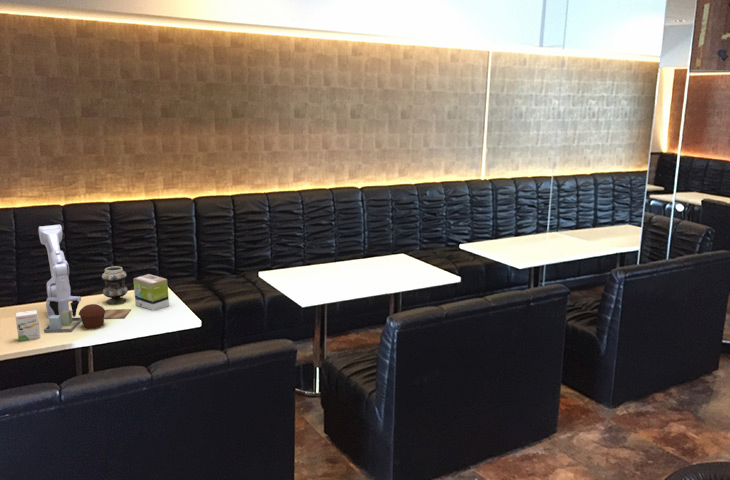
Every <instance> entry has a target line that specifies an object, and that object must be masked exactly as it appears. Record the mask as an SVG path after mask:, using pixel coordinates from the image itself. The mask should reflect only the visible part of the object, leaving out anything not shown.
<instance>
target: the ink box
mask: <svg viewBox="0 0 730 480" xmlns="http://www.w3.org/2000/svg"><path fill="white" fill-rule="evenodd" d="M38 316H39V315H38V310H36V309H34V310H28V311H19V312H16V313H15V322H16V330H17V337H18V342H25V341H30V340H36V339H37V340H38V339H41V333H40V324H39V317H38Z"/></svg>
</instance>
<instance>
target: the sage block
mask: <svg viewBox="0 0 730 480" xmlns="http://www.w3.org/2000/svg"><path fill="white" fill-rule="evenodd" d="M59 314H60V315H61V322H62V326H71V324H72V323H73V322H74V321H72V318H73V315H72V309H69V310H62V311H61V312H60V313H59Z"/></svg>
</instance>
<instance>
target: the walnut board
mask: <svg viewBox="0 0 730 480" xmlns="http://www.w3.org/2000/svg"><path fill="white" fill-rule="evenodd" d="M131 310H132V309H131V308H121V309H120V308H119V309H118V308H117V309H115V308H114V309H111V308H110V309H105V311H106V312H105V313H104V320H112V319H113V320H117V319H123V320H124V319H125V318H126V317H127V316H128V315H129V313H130V312H131Z"/></svg>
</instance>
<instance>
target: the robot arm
mask: <svg viewBox="0 0 730 480" xmlns="http://www.w3.org/2000/svg"><path fill="white" fill-rule="evenodd" d="M63 235H64V234H63V227H62V225H61V224H53V225H44V226H40V225H39V226H38V236H39V240H40V242H39V243H40V244H41V245H42V246H43V245H44V246H45V248H46V251H47V256H48V262H49V263H48V264H49V269H50V275H51V278H50V279H49V280H48V281H47V282H46V293H47V298H46V300H45V307H46V314H47V316H46V318H49V317H50V316H52V315H60V314H59V313H60V312H61V311H62V310H70V307H71V311H72V318H76V316H77V310H78V307H79V304H80V302H81V301H82V298H81V297H82V296H76V295H75V296H73V295H71V293H72V292H71V291H72V290H71V285H70V279H69V275H70V267H69V263H68V261H67V260H66V257H65V254H64V251H63V250H61V247H60V243H61V242H62V240H63ZM69 302H71V303H70V304H69ZM69 305H70V306H69Z"/></svg>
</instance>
